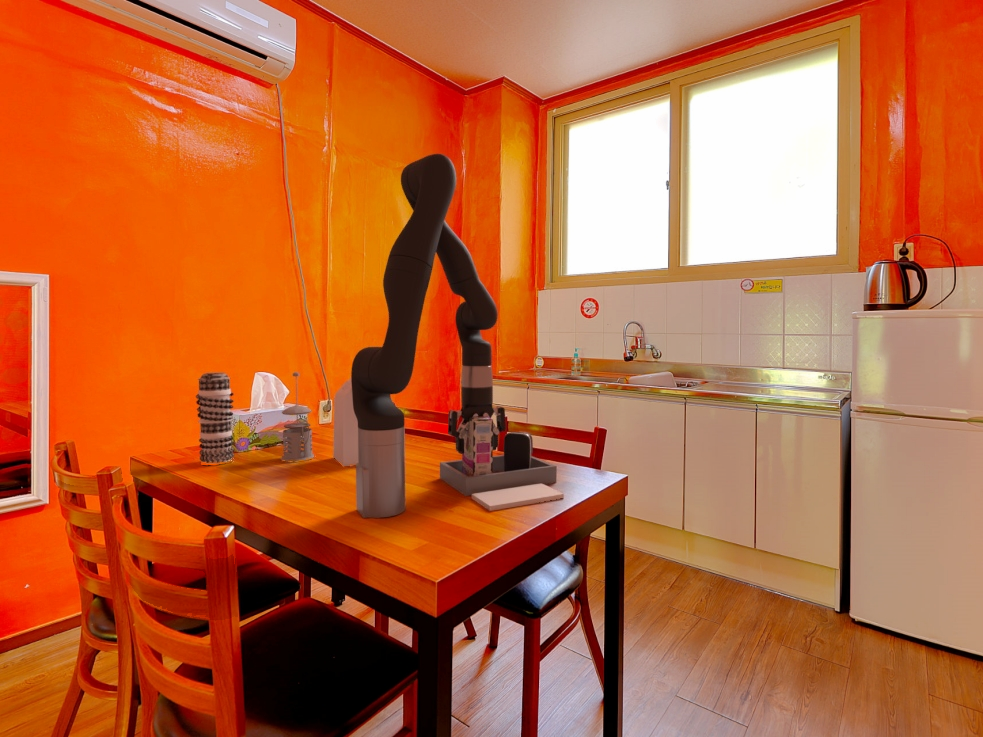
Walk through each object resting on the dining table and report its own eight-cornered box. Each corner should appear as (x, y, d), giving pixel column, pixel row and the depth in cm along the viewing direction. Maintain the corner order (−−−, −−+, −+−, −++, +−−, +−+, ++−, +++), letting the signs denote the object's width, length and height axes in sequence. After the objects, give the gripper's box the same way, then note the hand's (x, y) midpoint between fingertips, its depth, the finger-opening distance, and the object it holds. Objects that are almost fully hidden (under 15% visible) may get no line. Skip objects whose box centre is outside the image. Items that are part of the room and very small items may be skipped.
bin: (465, 496, 114) (465, 478, 114) (439, 478, 129) (439, 462, 128) (556, 482, 125) (556, 466, 125) (523, 467, 139) (523, 452, 139)
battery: (534, 476, 130) (534, 432, 129) (529, 480, 126) (529, 434, 126) (508, 474, 133) (508, 430, 132) (502, 477, 129) (502, 432, 128)
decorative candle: (208, 458, 149) (205, 372, 147) (241, 458, 149) (238, 371, 148) (191, 466, 140) (188, 374, 138) (226, 466, 140) (223, 374, 139)
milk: (384, 462, 145) (383, 369, 143) (343, 467, 139) (341, 371, 137) (372, 453, 155) (371, 367, 154) (333, 458, 150) (331, 368, 148)
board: (490, 510, 105) (490, 506, 105) (471, 498, 113) (471, 493, 113) (563, 498, 113) (563, 493, 113) (541, 487, 121) (541, 483, 121)
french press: (308, 452, 156) (306, 370, 155) (323, 459, 147) (321, 372, 146) (275, 457, 150) (272, 371, 148) (288, 465, 141) (286, 374, 139)
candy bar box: (494, 489, 120) (494, 419, 119) (473, 490, 118) (473, 420, 117) (480, 476, 130) (480, 412, 129) (461, 478, 129) (461, 412, 128)
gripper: (455, 387, 116) (456, 458, 118) (510, 384, 123) (510, 451, 124) (443, 384, 123) (444, 451, 124) (496, 381, 129) (496, 445, 131)
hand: (477, 451), depth 124 cm, fingers open, 8 cm apart
